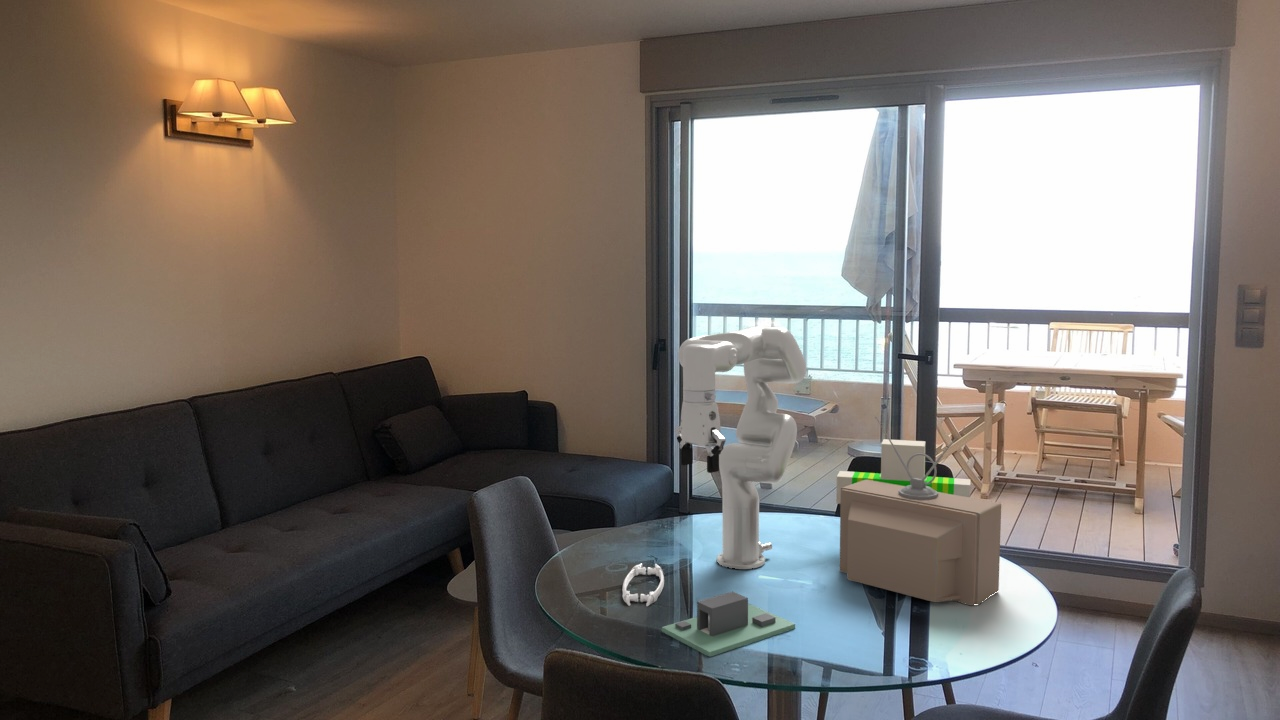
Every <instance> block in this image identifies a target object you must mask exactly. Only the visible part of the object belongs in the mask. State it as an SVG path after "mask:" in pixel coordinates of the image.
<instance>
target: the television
mask: <svg viewBox="0 0 1280 720" xmlns="http://www.w3.org/2000/svg"><path fill="white" fill-rule="evenodd" d="M874 418H875V419H876V421H877V423H878V424H879V426H880V427H881V429H882V432H883V434H885V436H886V438H887V439H889V441H890V443H891V444H892V446H893V448H894V450H895V452H896V454H897V456H898V457H899V459H900V461H901V463H902V464H903V466H904V468H905V469H906V471H907V473H908V476H909V477H910V479H911V480H910V484H911V485H908V486H901V485H895V484H889V483H884V482H878V481H872V480H863V481H860V482H857V483H854V484H851V485H848V486H845V487H842V488H841V502H840V504H839V505H840V510H839V511H840V513H839V514H840V517H839V519H840V520H839V522H840V524H839V571H840V572H841V573H845V574H847V575H846V578H847V580H848V581H852V582H855V583H856V582H857V583H861V584H864V585H867V586H872V587H875V588H880V589H882V590H887V591H891V592H894V593H899V594H902V595H906V596H910V597H912V598H913V597H914V598H916V599H921V600H925V601H929V602H932V603H940V602H941V603H942V602H947V601H953V602H957V601H958V602H957V603H960V602H962V603H961V604H964V603H966V604H965V605H968V604H969V606H974V604H979V603H981V602H982V601H984V600H985V599H986V598H988V597H989V596H990V595H992V594H994V593H995V592H997V591H998V590H999V591H1000V589H999V588H1000V560H1001V559H1000V558H1001V557H1000V556H1001V531H1002V529H1001V524H1002V504H1001V503H1000V502H997V501H992V500H991V501H990V500H985V499H981V498H975V497H970V498H969V497H964V496H958V495H952V494H946V493H941V492H937V491H935V490H933V489H932V488H931V487H928V486H926V485H928V484H930V483H932V482H933V481H934V479H935V477H937V473H938V472H937V465H938V463H939V462H940V460H942V458H943V457H944V455H945V454H946V452H948V450H949V449H950V448H951V446H952V445H953V444H954V442H955V441H957V439H958V437H959V436H960V435H961V434H962V432H963V431H964V430H965V429H966V427H963V428H962V430H961V431H960V432H959V433H958V435H956V436H955V438H954V439H953V440H952V441H951V443H950V444H949V445H948V446H947V447H946V449H945V450H944V451H943V452H942V453H941V454H940V455H939V457H938V458H937V459H936V461H934V460H933V459H932V457H931V456H929V455H928V454H926V453H925V454H922V453H917V454H914V455H912V456H911V457H910V458H909V460H908V462H907V466H906V465H905V463H904V461H903V459H902V458H901V456H900V454H899V453H898V451H897V449H896V448H895V447H894V445H893V443H892V442H891V440H892V439H891V438H890V437H889V435H888V434H887V432H886V430H885V429H884V427H883V426H882V424H881V422H880V421H879V419H878V417H877V416H874ZM918 455H922V456H925V458H927V459H928V460H929V461H930V462H931V463H932V466H931V467H930V468H929V469H928V471H927V472H925V476H924V477H923V479H918V478H913V477H912V475H911V473H910V472H909V462H910V461H911V459H912V458H913V457H915V456H918ZM933 470H934V474H933V476H932V477H933V478H932V480H930V481H929V482H927V483H925V482H924V480H925V479H926V477H927V476H929V475H930V474H931V472H932V471H933ZM985 601H986V600H985ZM985 601H984V602H985ZM982 603H983V602H982ZM982 603H981V604H982ZM979 605H980V604H979Z"/></svg>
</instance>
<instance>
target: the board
mask: <svg viewBox="0 0 1280 720" xmlns="http://www.w3.org/2000/svg"><path fill="white" fill-rule="evenodd" d="M795 629H796V623H794V622H793V621H789V620H788V619H785V618H783V617H781V616H778V615H776V614H774V613H771V612H769V611H767V610H764V609H762V608H761V607H757V606H755V605H753V604H750V603H748V625H746V626H743V627H740V628H737V629H734V630H731V631H727V632H724V633H721V634H718V635H715V636H711V635H709V631H708V628H705V629H702V630H699V629H697V616H695V617H690V618H689V619H688V618H687V619H684V620H682V621H677V622H675V623H672V624H671V623H670V624H667V625H665V626H662V627H661V632H662V633H664V634H665V635H667V636H670V637H672V638H673V639H674V640H677V641H678V642H681V643H682V644H685V645H687V646H688V647H690V648H692V649H694V650H695V651H698V652H699V653H702V654H703V655H705V656H708V657H709V658H710V657H714V656H716V655H720V654H722V653H725V652H729V651H732V650H734V649H737V648H740V647H744V646H746V645H749V644H752V643H755V642H758V641H759V642H760V641H762V640H764V639H767V638H771V637H774V636H776V635H779V634H783V633H786V632H789V631H791V630H795Z"/></svg>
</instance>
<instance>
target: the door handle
mask: <svg viewBox="0 0 1280 720" xmlns="http://www.w3.org/2000/svg"><path fill="white" fill-rule="evenodd" d="M646 569H647V570H646ZM646 573H647V575H648V576H651V575H655V576H656V577H659V580H660V582H659V584H658V586H657V587H656V589H655V590H654V591H649V594H648V593H645V594H644V593H640V597H639V593H634V594H631V593H630V592H631V591H630V590H627V588H628V585H629V584H630V582H631V581H632V579H634V578H635V576H638V575H643V576H645V575H646ZM664 585H665V576H664V571H663V569H662V567H661V566H659V564H657V563H654V566H652V567H651V566H650V567H649V566H648V567H645V566H643V563H639V564H636V565H634V566H633V567H632V568H631V569H630V571H629V572H628V574H627V575H626V576H625V578H624V579H623V583H622V589H621V590H622V599H623V601H624V603H626V605H627V606H628V607H630V606H631V602H634V603H639V600H640V603H644V602H646V603H645V607H649V606H650V605H652V604H654V603H656V602H657V600H658V597H660V595H661V593H662V591H663V589H664Z"/></svg>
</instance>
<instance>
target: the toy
mask: <svg viewBox="0 0 1280 720" xmlns="http://www.w3.org/2000/svg"><path fill="white" fill-rule="evenodd" d="M890 440H891V442H892V443H893V445H894V447H895V448H896V449H897V451H898V453H899V454H900V456H901V458H902V459H903V461H904V463H905V465H906V466H907V462H908V460H909V458H910V457H911V456H912V455H914V454H917V453H922V454H926V441H924V440H908V439H907V440H905V439H890ZM880 447H881V449H880V451H881V452H880V454H881V456H880V457H881V458H880V459H881V460H880V473H878V472H876V473H875V472H860V471H849V470H848V471H847V470H839V472H838V474H837V475H836V499H835V500H836V501H835V502H836V504H838V505H840V502H841V488H842V487H845V486H848V485H851V484H854V483H857V482H860V481H863V480H872V481H878V482H884V483H889V484H895V485H901V486H908V485H911V484H910V480H911V479H910V477H909V476H908V473H907V471H906V469H905V468H904V466H903V464H902V463H901V461H900V459H899V457H898V456H897V454H896V452H895V450H894V448H893V446H892V444H891V443H890V441H889V439H888V438H887V439H886V438H884V439H883V440H882V442H881V446H880ZM909 472H910V473H911V475H912V477H913V478H918V479H923V477H924V476H925V475H926V457H925V456H922V455H918V456H915V457H913V458H912V459H911V461H910V462H909ZM932 478H933V476H929V475H928V476H927V477H926V479H925V480H924V482H925V483H927V482H929V481H930V480H932ZM926 486H928V487H931V488H932V489H933V490H935V491H937V492H941V493H946V494H952V495H958V496H964V497H969V498H971V478H958V477H942V476H936V477H935V479H934V481H933V482H932V483H930V484H928V485H926Z"/></svg>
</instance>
